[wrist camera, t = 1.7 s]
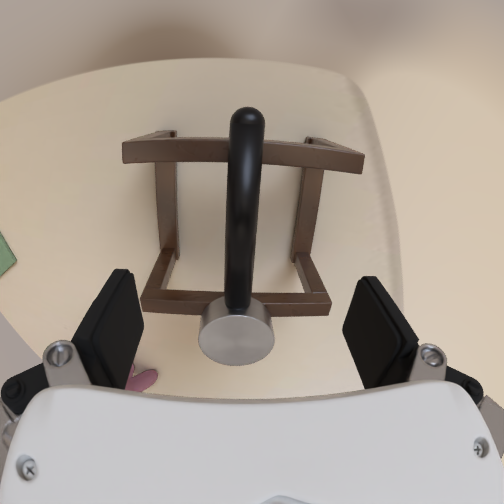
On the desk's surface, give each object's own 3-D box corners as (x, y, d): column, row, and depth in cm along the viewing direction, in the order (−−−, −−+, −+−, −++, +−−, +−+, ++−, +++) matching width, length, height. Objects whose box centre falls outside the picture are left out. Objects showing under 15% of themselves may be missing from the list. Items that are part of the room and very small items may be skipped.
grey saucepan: (198, 106, 12) (192, 104, 10) (296, 111, 12) (306, 111, 10) (202, 344, 19) (200, 365, 18) (267, 345, 20) (270, 365, 18)
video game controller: (103, 319, 30) (69, 357, 25) (123, 325, 28) (86, 369, 23) (141, 367, 35) (115, 403, 30) (163, 376, 33) (136, 415, 27)
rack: (157, 130, 19) (117, 142, 12) (325, 138, 20) (368, 154, 13) (163, 255, 25) (139, 311, 18) (306, 259, 26) (331, 315, 19)
